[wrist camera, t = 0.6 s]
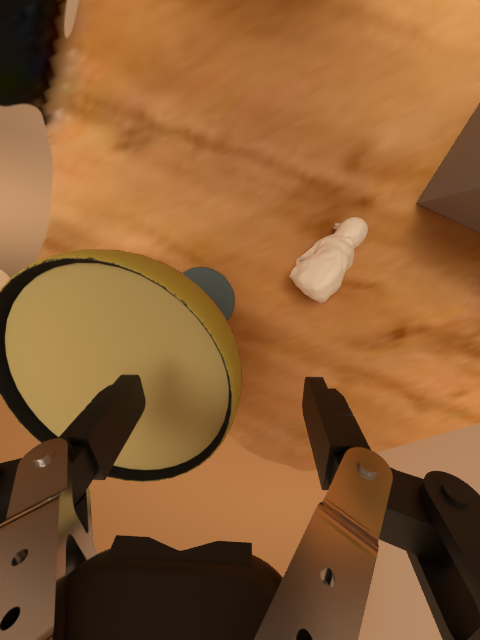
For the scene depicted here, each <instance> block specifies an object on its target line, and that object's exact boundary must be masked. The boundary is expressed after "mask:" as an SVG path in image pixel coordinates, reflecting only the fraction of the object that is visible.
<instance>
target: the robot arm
mask: <svg viewBox="0 0 480 640" xmlns="http://www.w3.org/2000/svg"><path fill="white" fill-rule="evenodd" d="M145 405H146V399H145V395H144V391H143V387H142V383H141V379H140V376H139V375H128V374H123V375H120V376H119V377H118V379H117V380H116V381H115V382H114V383H113V384H112V385H109V386H107V387H106V388H104V389H103V390H101V391H100V392H99V393H98V394H97V395H96V396H95V397H94V398H93V399H92V401H91V403H89V404H88V405H87V406H86V407H85V410H83V411H82V412H81V413H80V414H79V415H78V416H77V417H76V418H75V420H74V421H73V422H72V423H71V424H70V425H69V426H68V427H67V428H66V430H65V431H64V432H63V433H62V434H61V435H60V436H59V437H58V438H56V439H51V440H48V441H45V442H43V443H41V444H39V445H37V446H36V447H34V448H33V449H31V450H30V451H29V452H28V453H27V454H26V455H25V456H24V457H23V458H21V459H16V460H12V461H8V462H4V463H0V640H358V637H359V632H360V628H361V623H362V619H363V615H364V610H365V606H366V602H367V597H368V593H369V589H370V584H371V580H372V576H373V571H374V567H375V563H376V558H377V553H378V547H379V546H378V540H379V539H380V540H382V541H384V542H387V543H389V544H392V545H394V546H396V547H399V548H401V549H403V550H406V551H407V554H408V556H409V559H410V561H411V564H412V566H413V568H414V571H415V573H416V576H417V578H418V581H419V583H420V585H421V588H422V590H423V593H424V595H425V597H426V600H427V602H428V605H429V607H430V610H431V612H432V614H433V617H434V619H435V622H436V624H437V627H438V629H439V632H440V634H441V636H442V639H443V640H480V495H479V494H478V493H477V492H476V491H475V490H474V489H473V488H471V487H470V486H469V485H468V484H467V483H465V482H464V481H462V480H461V479H459V478H457V477H455V476H453V475H451V474H449V473H445V472H441V471H431V472H429V473H427V474H426V475H425V478H424V479H422V478H418V477H415V476H412V475H409V474H406V473H403V472H400V471H397V470H395V469H393V468H391V467H389V465H388V464H387V463H386V461H385V460H384V459H383V458H382V457H381V456H379V455H378V454H377V453H375V452H373V451H371V449H370V447H369V445H368V443H367V441H366V439H365V437H364V435H363V433H362V431H361V429H360V427H359V425H358V423H357V421H356V419H355V417H354V416H353V414H352V412H351V410H350V408H349V406H348V404H347V402H346V400H345V398H344V396H343V395H342V394H340V393H339V392H338V391H337V390H336V389H328V388H327V386H326V383H325V381H324V379H323V377H306V378H305V383H304V392H303V402H302V408H303V416H304V420H305V424H306V428H307V432H308V436H309V440H310V444H311V448H312V452H313V456H314V460H315V464H316V468H317V471H318V476H319V480H320V483H321V487H322V490H328V491H327V494H326V496H325V498H324V500H323V502H322V503H321V502H320V503H319V504H318V506H317V508H316V510H315V512H314V514H313V516H312V518H311V520H310V522H309V524H308V526H307V529H306V531H305V533H304V535H303V537H302V539H301V541H300V543H299V545H298V548H297V550H296V552H295V554H294V556H293V558H292V560H291V562H290V564H289V566H288V569H287V571H286V573H285V575H284V577H282V576H281V575H280V574H279V573H278V572H277V571H276V570H275V569H274V568H273V567H271V566H270V565H269V564H268V563H266V562H265V561H263V560H262V559H260V558H258V557H256V556H254V555H252V543H245V542H243V543H242V542H227V541H216V542H212V543H208V544H205V545H202V546H198V547H194V548H190V549H188V550H183V551H178V550H176V549H174V548H171V547H169V546H167V545H165V544H162V543H160V542H158V541H156V540H154V539H151V538H149V537H137V536H136V537H135V536H118V535H117V536H116V537H115V540H114V542H113V545H112V547H111V549H108V550H106V551H103V552H101V553H99V554H97V553H96V550H95V546H94V541H93V531H92V517H91V502H90V491H89V488H88V487H89V485H90V483H91V482H92V480H93V479H94V480H105V479H106V477H107V475H108V473H109V472H110V470H111V468H112V466H113V465H114V463H115V461H116V459H117V458H118V456H119V454H120V452H121V451H122V449H123V447H124V445H125V444H126V442H127V440H128V438H129V437H130V435H131V433H132V431H133V430H134V428H135V426H136V424H137V423H138V421H139V419H140V417H141V416H142V414H143V412H144V409H145Z"/></svg>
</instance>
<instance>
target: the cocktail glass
mask: <svg viewBox="0 0 480 640" xmlns="http://www.w3.org/2000/svg"><path fill="white" fill-rule="evenodd" d="M233 308H234V293H233V290H232V288H231V285H230V284H229V282H228V281H227V280H226V278H225V277H224V276H222V275H221V274H220V273H218V272H217V271H215V270H212V269H210V268H205V267H197V268H192V269H189V270H187V271H185V272H184V273H181V272H179V271H177V270H176V269H174V268H172V267H170V266H168V265H167V264H165V263H162V262H160V261H157V260H154V259H152V258H149V257H146V256H143V255H140V254H135V253H130V252H125V251H120V250H80V251H74V252H69V253H63V254H58V255H54V256H51V257H48V258H46V259H43V260H41V261H38V262H36V263H33V264H31V265H28V266H27V267H26V268H24V269H23V270H21V271H20V272H18V273H17V274H15V275H14V276H13V277H11V278H10V279H9V280H8V281H7V283H6V284H5V285H4V286H3V287H2V288H1V289H0V395H1V397H2V398H3V400H4V402H5V403H6V405H7V407H8V408H9V410H10V411H11V412H12V413H13V415H14V416H15V417H16V419H17V420H18V421H19V422H20V423H21V424H22V425H23V426H24V428H25V429H26V430H27V431H28V432H29V433H30V434H31V435H32V436H34V437H35V438H36V439H37V440H38V441H39V442H41V443H43V442H45V441H48V440H51V439H56V438H58V437H59V436H60V435H61V434H62V433H63V432H64V431H65V430H66V428H67V427H68V426H69V425H70V424H71V423H72V422H73V421H74V420H75V418H76V417H77V416H78V415H79V414H80V413H81V412H82V411H83V410H85V407H86V406H87V405H88V404H89V403H91V401H92V399H93V398H94V397H95V396H96V395H97V394H98V393H99V392H100V391H101V390H103V389H104V388H106V387H107V386H109V385H112V384H113V383H114V382H115V381H116V380H117V379H118V377H119V376H120V375H123V374H128V375H139V376H140V379H141V383H142V387H143V391H144V395H145V399H146V405H145V409H144V412H143V414H142V416H141V417H140V419H139V421H138V423H137V424H136V426H135V428H134V430H133V431H132V433H131V435H130V437H129V438H128V440H127V442H126V444H125V445H124V447H123V449H122V451H121V452H120V454H119V456H118V458H117V459H116V461H115V463H114V465H113V466H112V468H111V470H110V472H109V473H108V475H107V477H110V478H115V479H120V480H125V481H139V482H145V481H160V480H165V479H169V478H173V477H176V476H179V475H182V474H185V473H187V472H189V471H191V470H193V469H195V468H196V467H198V466H200V465H201V464H202V463H204V462H205V461H206V460H207V459H208V458H210V457H211V456H212V455H213V454H214V453H215V451H216V450H217V449H218V447H219V446H220V445H221V443H222V442H223V441H224V439H225V437H226V435H227V433H228V431H229V429H230V427H231V425H232V423H233V421H234V418H235V414H236V410H237V407H238V403H239V399H240V393H241V378H242V370H241V362H240V355H239V351H238V347H237V344H236V341H235V337H234V334H233V332H232V330H231V328H230V326H229V324H228V322H227V320H228V319H229V317H230V316H231V314H232V311H233Z"/></svg>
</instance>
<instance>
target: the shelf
mask: <svg viewBox="0 0 480 640" xmlns="http://www.w3.org/2000/svg"><path fill="white" fill-rule="evenodd" d="M417 204H419V205H421V206H423V207H425V208H427V209H429V210H431V211H434V212H436V213H438V214H440V215H442V216H444V217H446V218H449V219H451V220H453V221H455V222H457V223H459V224H461V225H463V226H466V227H468V228H470V229H472V230H474V231H476V232H478V233H480V104H479V105H478V107H477V108H476V110H475V112H474V113H473V115H472V116H471V118H470V119H469V121H468V123H467V124H466V126H465V127H464V129H463V130H462V132H461V134H460V135H459V137H458V138H457V140H456V141H455V143H454V145H453V146H452V148H451V149H450V151H449V153H448V154H447V156H446V157H445V159H444V160H443V162H442V164H441V165H440V167H439V168H438V170H437V171H436V173H435V175H434V176H433V178H432V179H431V181H430V182H429V184H428V186H427V187H426V189H425V190H424V192H423V194H422V195H421V197H420V198H419V200H418V201H417Z"/></svg>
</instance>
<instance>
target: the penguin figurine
mask: <svg viewBox="0 0 480 640" xmlns="http://www.w3.org/2000/svg"><path fill="white" fill-rule="evenodd" d="M336 224H337V223H335V224H334V225H336ZM339 224H340V223H338V224H337V225H336V226H338V227H334V229H335V228H336V229H337V230H336V231H335V233H334V234H332V235H329V236H327V237H324V238H322V239H320V240H318V241H317V242H316V243H315V244H314V245H313V246H312V247H311V248H310V249H309V250H308V251H307V252H306V253H304V254H303V255H302V256H300V257H298V258H297V260H296V266H295V267H294V268H293V270H292V271H291V274H290V276H289V277H290V278H291V279H292V280H293V281H294V283H295V285H296V286H297V287H298V288H299V289H300V290H301V291H302V292H303V293H304V294H305V295H307V296H309V297H310V298H311V299H313V300H316V301H318V302H320V303H322V302H325V301H326V300H327V299H328V298H329V297H330V296H331V295H332V294H334V293H335V292H336V291H337V290H338V289H339V287H340V286H341V283H342V280H343V276H344V274H345V272H346V271H347V270H348V269H349V268H350V267H351V265H352V263H353V259H354V249H355V248H356V247H357V246H358V245H359V246H360V244H361V243H362V242H363V240H364V239H365V237H366V235H367V232H368V227H367V224H366V222H365V221H364V220H363V219H361V218H358V217H352V218H349V219H347V220H345V221H344V222H342V223H341V224H340V225H339ZM359 246H358V247H359Z"/></svg>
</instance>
